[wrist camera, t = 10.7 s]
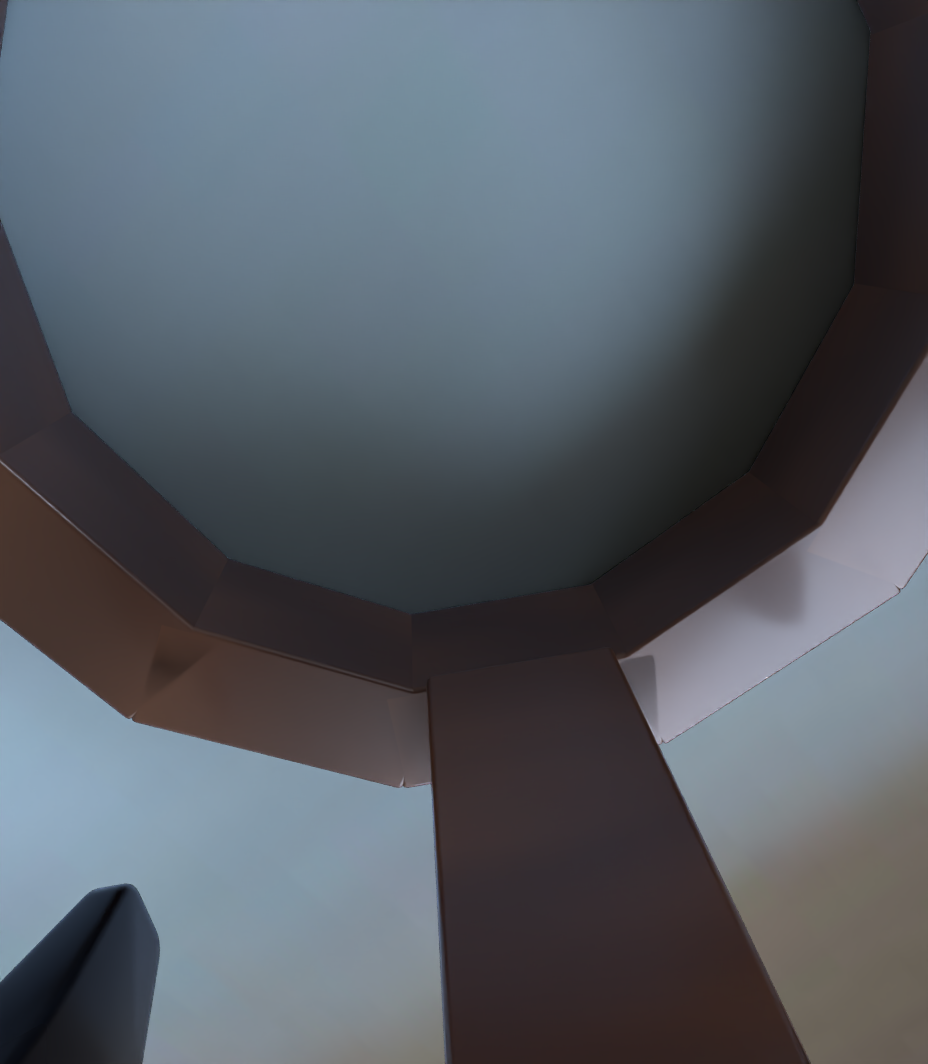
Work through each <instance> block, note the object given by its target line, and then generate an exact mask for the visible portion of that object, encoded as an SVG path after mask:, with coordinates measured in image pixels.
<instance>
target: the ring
mask: <svg viewBox="0 0 928 1064" xmlns="http://www.w3.org/2000/svg"><path fill="white" fill-rule="evenodd" d="M857 2H858V5H859V7H860V9H861V11H862V14H863V16H864V18H865V20H866V22H867V25H868V27H869V29H870V42H869V58H868V73H867V88H866V104H865V119H864V135H863V150H862V165H861V181H860V196H859V212H858V227H857V242H856V258H855V273H854V285H853V287H852V288H851V290H850V292H849V294H848V296H847V297H846V299H845V301H844V303H843V305H842V306H841V308H840V310H839V312H838V313H837V315H836V317H835V319H834V321H833V322H832V324H831V326H830V328H829V330H828V331H827V333H826V335H825V337H824V338H823V340H822V342H821V344H820V346H819V347H818V349H817V351H816V353H815V355H814V356H813V358H812V360H811V362H810V363H809V365H808V367H807V369H806V371H805V372H804V374H803V376H802V378H801V380H800V381H799V383H798V385H797V387H796V388H795V390H794V392H793V394H792V396H791V397H790V399H789V401H788V403H787V405H786V406H785V408H784V410H783V412H782V413H781V415H780V417H779V419H778V421H777V422H776V424H775V426H774V428H773V430H772V431H771V433H770V435H769V437H768V438H767V440H766V442H765V444H764V446H763V447H762V449H761V451H760V453H759V455H758V456H757V458H756V460H755V462H754V463H753V465H752V467H751V469H750V471H749V472H748V473H746V474H745V475H743V476H742V477H741V478H739V479H738V480H736V481H735V482H734V483H732V484H731V485H729V486H728V487H727V488H725V489H724V490H722V491H721V492H719V493H718V494H717V495H715V496H714V497H712V498H711V499H710V500H708V501H707V502H705V503H704V504H703V505H701V506H700V507H698V508H697V509H696V510H694V511H693V512H691V513H690V514H689V515H687V516H686V517H684V518H683V519H682V520H680V521H679V522H677V523H676V524H675V525H673V526H672V527H670V528H669V529H668V530H666V531H665V532H663V533H662V534H661V535H659V536H658V537H656V538H655V539H654V540H652V541H651V542H649V543H648V544H646V545H645V546H644V547H642V548H641V549H639V550H638V551H637V552H635V553H634V554H632V555H631V556H630V557H628V558H627V559H625V560H624V561H623V562H621V563H620V564H618V565H617V566H616V567H614V568H613V569H611V570H610V571H609V572H607V573H606V574H604V575H603V576H602V577H600V578H599V579H597V580H596V581H595V582H593V583H592V584H589V585H583V586H577V587H571V588H565V589H559V590H553V591H547V592H541V593H535V594H529V595H523V596H517V597H511V598H506V599H500V600H494V601H488V602H482V603H476V604H470V605H464V606H458V607H452V608H446V609H440V610H434V611H428V612H422V613H416V614H409V613H406V612H402V611H399V610H396V609H393V608H389V607H386V606H383V605H379V604H376V603H373V602H369V601H366V600H363V599H360V598H356V597H353V596H350V595H346V594H343V593H340V592H337V591H333V590H330V589H327V588H323V587H320V586H317V585H313V584H310V583H307V582H304V581H300V580H297V579H294V578H290V577H287V576H284V575H281V574H277V573H274V572H271V571H267V570H264V569H261V568H257V567H254V566H251V565H248V564H244V563H241V562H238V561H234V560H231V559H228V558H227V557H226V556H225V555H224V554H223V553H222V552H221V551H220V550H219V549H218V548H217V547H215V546H214V545H213V544H212V543H211V542H210V541H209V540H208V539H207V538H206V537H205V536H204V535H203V534H202V533H201V532H200V531H198V530H197V529H196V528H195V527H194V526H193V525H192V524H191V523H190V522H189V521H188V520H187V519H186V518H185V517H184V516H182V515H181V514H180V513H179V512H178V511H177V510H176V509H175V508H174V507H173V506H172V505H171V504H170V503H169V502H168V501H166V500H165V499H164V498H163V497H162V496H161V495H160V494H159V493H158V492H157V491H156V490H155V489H154V488H153V487H152V486H150V485H149V484H148V483H147V482H146V481H145V480H144V479H143V478H142V477H141V476H140V475H139V474H138V473H137V472H136V471H134V470H133V469H132V468H131V467H130V466H129V465H128V464H127V463H126V462H125V461H124V460H123V459H122V458H121V457H120V456H118V455H117V454H116V453H115V452H114V451H113V450H112V449H111V448H110V447H109V446H108V445H107V444H106V443H105V442H104V441H102V440H101V439H100V438H99V437H98V436H97V435H96V434H95V433H94V432H93V431H92V430H91V429H90V428H89V427H88V426H86V425H85V424H84V423H83V422H82V421H81V420H80V419H79V418H78V417H77V416H76V415H75V414H74V413H73V412H72V411H71V408H70V405H69V403H68V400H67V397H66V394H65V392H64V389H63V386H62V384H61V381H60V378H59V376H58V373H57V370H56V368H55V365H54V362H53V360H52V357H51V354H50V352H49V349H48V346H47V343H46V341H45V338H44V335H43V333H42V330H41V327H40V325H39V322H38V319H37V317H36V314H35V311H34V309H33V306H32V303H31V300H30V298H29V295H28V292H27V290H26V287H25V284H24V282H23V279H22V276H21V274H20V271H19V268H18V266H17V263H16V260H15V257H14V255H13V252H12V249H11V247H10V244H9V241H8V239H7V236H6V233H5V231H4V228H3V225H2V223H1V220H0V620H1V621H3V622H4V623H5V624H7V625H8V626H9V627H10V628H12V629H13V630H14V631H15V632H17V633H18V634H19V635H21V636H22V637H23V638H24V639H26V640H27V641H28V642H30V643H31V644H32V645H33V646H35V647H36V648H37V649H39V650H40V651H41V652H42V653H44V654H45V655H46V656H47V657H49V658H50V659H51V660H53V661H54V662H55V663H56V664H58V665H59V666H60V667H62V668H63V669H64V670H65V671H67V672H68V673H69V674H71V675H72V676H73V677H74V678H76V679H77V680H78V681H80V682H81V683H82V684H83V685H85V686H86V687H87V688H88V689H90V690H91V691H92V692H94V693H95V694H96V695H97V696H99V697H100V698H101V699H103V700H104V701H105V702H106V703H108V704H109V705H110V706H112V707H113V708H114V709H115V710H117V711H118V712H119V713H120V714H122V715H123V716H124V717H126V718H128V719H130V718H132V720H133V721H134V722H137V723H141V724H145V725H149V726H153V727H157V728H161V729H165V730H169V731H173V732H177V733H181V734H185V735H189V736H193V737H197V738H201V739H205V740H209V741H213V742H217V743H221V744H225V745H229V746H233V747H237V748H241V749H245V750H249V751H253V752H257V753H261V754H265V755H269V756H273V757H277V758H281V759H285V760H289V761H293V762H297V763H301V764H305V765H309V766H313V767H317V768H321V769H325V770H329V771H333V772H337V773H341V774H345V775H349V776H353V777H357V778H361V779H365V780H369V781H373V782H377V783H381V784H385V785H389V786H393V787H397V788H399V787H402V785H403V786H404V787H406V788H409V787H415V786H421V785H426V784H431V787H432V808H433V828H434V848H435V869H436V889H437V909H438V929H439V950H440V970H441V990H442V1011H443V1031H444V1051H445V1064H811V1062H810V1060H809V1058H808V1056H807V1054H806V1052H805V1050H804V1048H803V1045H802V1043H801V1041H800V1039H799V1037H798V1035H797V1033H796V1031H795V1029H794V1027H793V1025H792V1023H791V1020H790V1018H789V1016H788V1014H787V1012H786V1010H785V1008H784V1006H783V1004H782V1002H781V1000H780V998H779V995H778V993H777V991H776V989H775V987H774V985H773V983H772V981H771V979H770V977H769V975H768V972H767V970H766V968H765V966H764V964H763V962H762V960H761V958H760V956H759V954H758V952H757V950H756V947H755V945H754V943H753V941H752V939H751V937H750V935H749V933H748V931H747V929H746V927H745V925H744V922H743V920H742V918H741V916H740V914H739V912H738V910H737V908H736V906H735V904H734V902H733V900H732V897H731V895H730V893H729V891H728V889H727V887H726V885H725V883H724V881H723V879H722V877H721V874H720V872H719V870H718V868H717V866H716V864H715V862H714V860H713V858H712V856H711V854H710V852H709V849H708V847H707V845H706V843H705V841H704V839H703V837H702V835H701V833H700V831H699V829H698V827H697V824H696V822H695V820H694V818H693V816H692V814H691V812H690V810H689V808H688V806H687V804H686V802H685V799H684V797H683V795H682V793H681V791H680V789H679V787H678V785H677V783H676V781H675V779H674V776H673V774H672V772H671V770H670V768H669V766H668V764H667V762H666V760H665V758H664V756H663V754H662V751H661V749H660V747H659V745H660V744H662V742H664V743H668V742H670V741H671V740H673V739H674V738H676V737H677V736H679V735H680V734H682V733H684V732H685V731H687V730H688V729H690V728H691V727H693V726H694V725H696V724H697V723H699V722H701V721H702V720H704V719H705V718H707V717H708V716H710V715H711V714H713V713H714V712H716V711H718V710H719V709H721V708H722V707H724V706H725V705H727V704H728V703H730V702H732V701H733V700H735V699H736V698H738V697H739V696H741V695H742V694H744V693H745V692H747V691H749V690H750V689H752V688H753V687H755V686H756V685H758V684H759V683H761V682H763V681H764V680H766V679H767V678H769V677H770V676H772V675H773V674H775V673H776V672H778V671H780V670H781V669H783V668H784V667H786V666H787V665H789V664H790V663H792V662H794V661H795V660H797V659H798V658H800V657H801V656H803V655H804V654H806V653H807V652H809V651H811V650H812V649H814V648H815V647H817V646H818V645H820V644H821V643H823V642H825V641H826V640H828V639H829V638H831V637H832V636H834V635H835V634H837V633H838V632H840V631H842V630H843V629H845V628H846V627H848V626H849V625H851V624H852V623H854V622H855V621H857V620H859V619H860V618H862V617H863V616H865V615H866V614H868V613H869V612H871V611H873V610H874V609H876V608H877V607H879V606H880V605H882V604H883V603H885V602H886V601H888V600H890V599H891V598H893V597H894V596H896V595H897V594H899V593H900V589H903V588H904V587H905V586H906V585H907V583H908V582H909V580H910V579H911V577H912V576H913V574H914V573H915V571H916V570H917V568H918V567H919V565H920V564H921V563H922V561H923V560H924V558H925V557H926V555H927V554H928V0H857ZM7 5H8V0H0V56H1V49H2V41H3V34H4V27H5V20H6V12H7Z"/></svg>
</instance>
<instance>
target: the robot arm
mask: <svg viewBox="0 0 928 1064" xmlns="http://www.w3.org/2000/svg"><path fill="white" fill-rule="evenodd" d="M159 955H160V945H159V938H158V934H157V931H156V929H155V927H154V924H153V922H152V920H151V918H150V916H149V914H148V911H147V909H146V907H145V905H144V903H143V900H142V898H141V896H140V894H139V892H138V890H137V889H136V888H135V887H134V886H133V885H131V884H120V885H114V886H109V887H103V888H97V889H95V890H92V891H91V892H89V893H88V894H87V895H86V896H85V897H84V898H83V899H82V900H81V901H80V902H79V903H78V904H77V905H76V906H75V907H74V908H73V909H72V910H71V911H70V912H69V913H68V914H67V915H66V916H65V917H64V918H63V919H62V920H61V921H60V922H59V923H58V924H57V925H56V926H55V927H54V928H53V929H52V930H51V931H50V932H49V933H48V934H47V935H46V936H45V937H44V938H43V939H42V940H41V941H40V942H39V943H38V944H37V945H36V946H35V947H34V949H33V950H32V951H31V952H30V953H29V954H28V955H27V956H26V957H25V958H24V959H23V960H22V961H21V962H20V963H19V964H18V965H17V966H16V967H15V968H14V969H13V970H12V971H11V972H10V973H9V974H8V975H7V976H6V977H5V978H4V979H3V980H2V981H1V982H0V1064H142V1062H143V1055H144V1049H145V1043H146V1037H147V1031H148V1025H149V1018H150V1012H151V1006H152V1000H153V994H154V988H155V981H156V975H157V969H158V963H159Z"/></svg>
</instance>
